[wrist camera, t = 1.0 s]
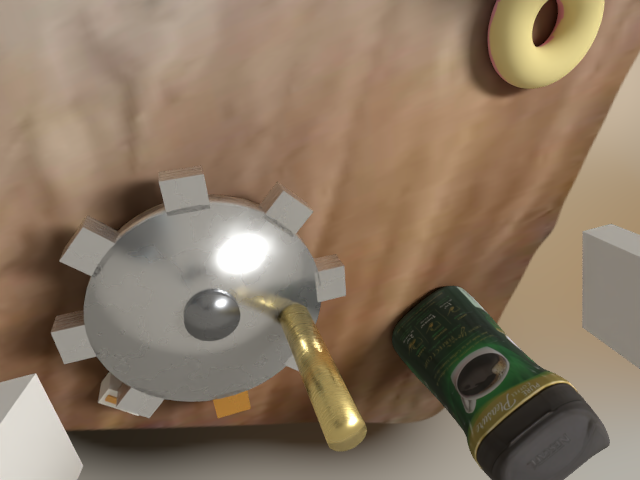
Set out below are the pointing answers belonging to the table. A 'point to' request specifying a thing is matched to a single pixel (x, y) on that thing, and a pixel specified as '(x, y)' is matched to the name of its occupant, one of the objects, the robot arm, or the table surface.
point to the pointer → (110, 391)
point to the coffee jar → (497, 391)
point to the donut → (554, 54)
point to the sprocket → (208, 303)
